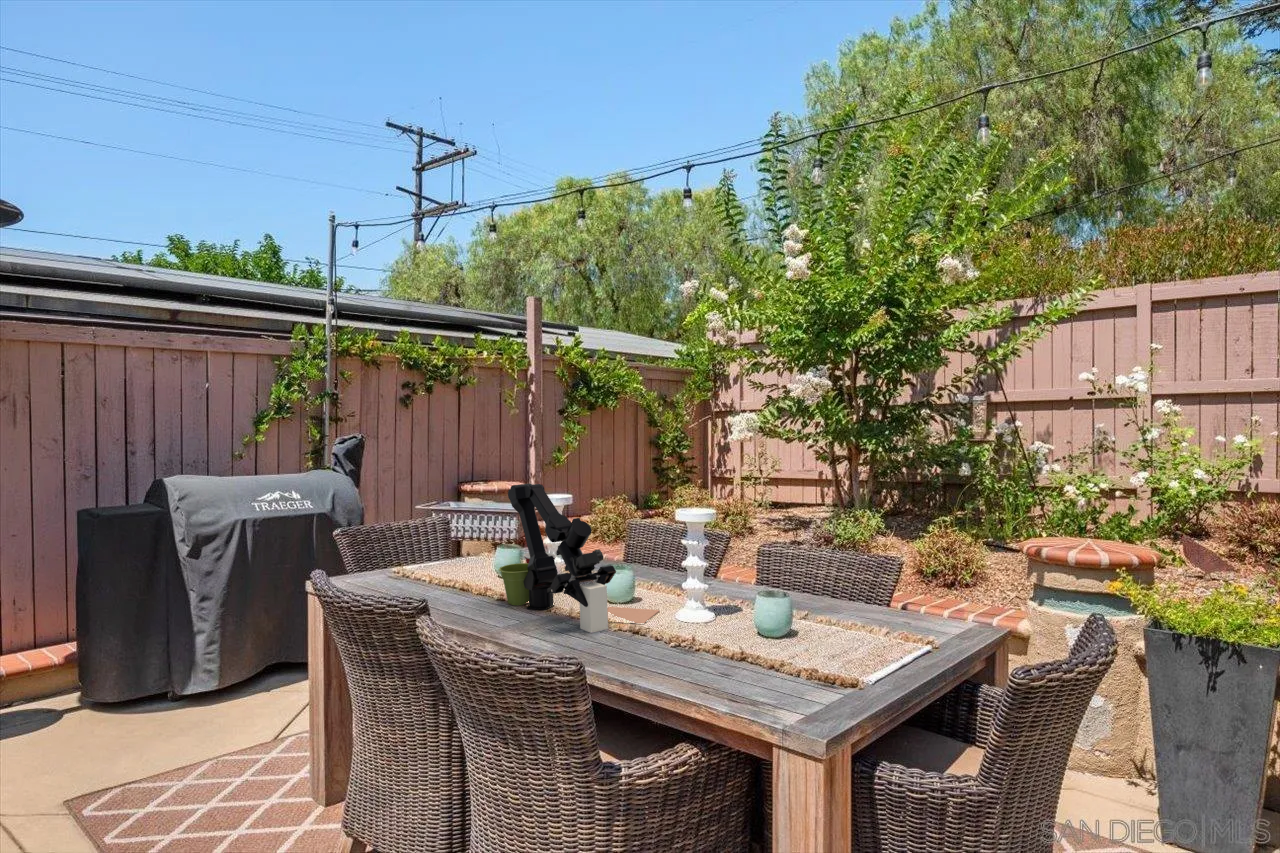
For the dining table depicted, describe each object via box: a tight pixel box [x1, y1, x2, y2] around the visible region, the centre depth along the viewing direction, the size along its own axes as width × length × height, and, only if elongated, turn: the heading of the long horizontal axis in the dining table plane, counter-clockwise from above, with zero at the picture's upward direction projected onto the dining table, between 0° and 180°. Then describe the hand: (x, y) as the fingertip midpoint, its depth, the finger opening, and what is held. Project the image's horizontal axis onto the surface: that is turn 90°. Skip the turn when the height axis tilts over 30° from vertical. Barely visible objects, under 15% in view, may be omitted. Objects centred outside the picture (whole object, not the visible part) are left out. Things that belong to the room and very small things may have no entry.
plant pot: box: [498, 562, 529, 606], centre depth 248 cm, size 12×12×11 cm
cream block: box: [579, 582, 609, 634], centre depth 218 cm, size 6×6×12 cm
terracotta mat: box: [607, 606, 661, 624], centre depth 230 cm, size 16×14×1 cm
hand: (596, 604), depth 216 cm, fingers closed on cream block, 5 cm apart
